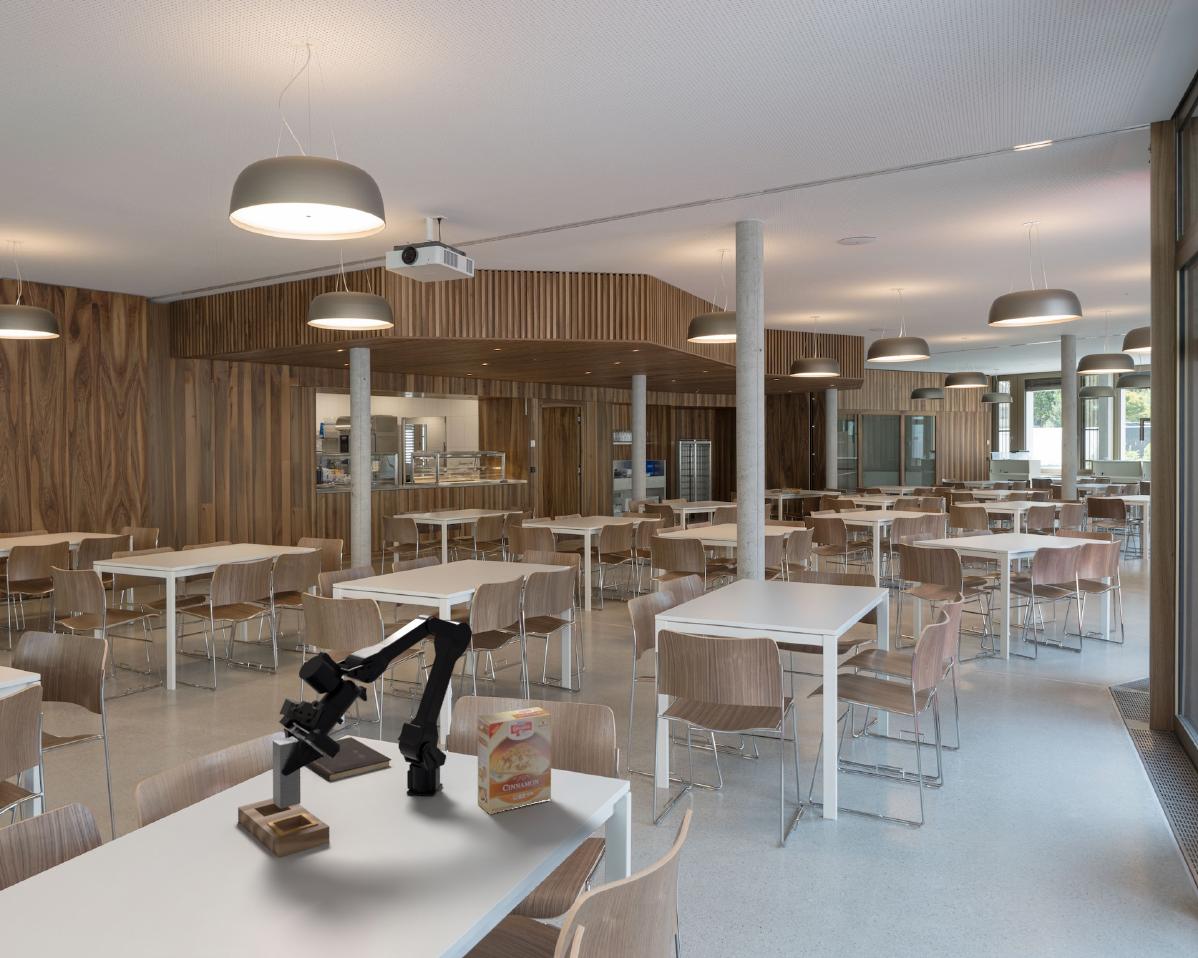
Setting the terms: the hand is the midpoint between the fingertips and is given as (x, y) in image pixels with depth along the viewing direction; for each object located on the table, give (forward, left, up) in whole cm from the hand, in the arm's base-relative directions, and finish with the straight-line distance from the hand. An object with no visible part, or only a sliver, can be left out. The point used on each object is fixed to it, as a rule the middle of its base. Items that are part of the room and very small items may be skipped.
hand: (279, 771), depth 167 cm
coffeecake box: (-42, -24, -13) cm, 50 cm away
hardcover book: (+8, -44, -14) cm, 47 cm away
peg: (-1, -1, -7) cm, 7 cm away
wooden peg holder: (+1, -3, -13) cm, 13 cm away
